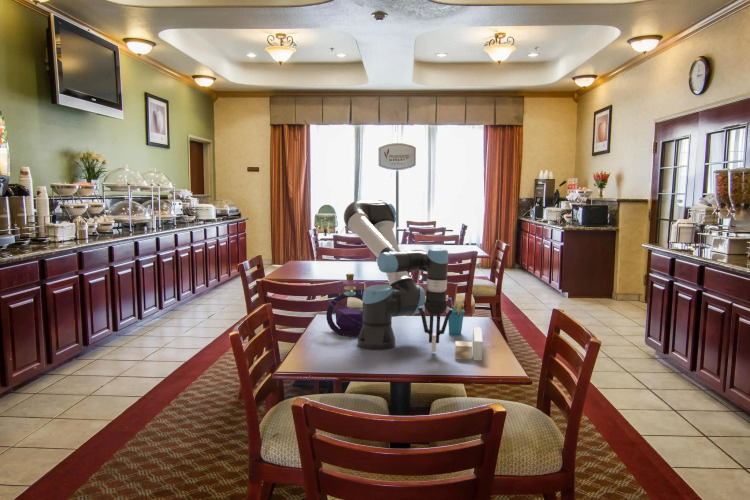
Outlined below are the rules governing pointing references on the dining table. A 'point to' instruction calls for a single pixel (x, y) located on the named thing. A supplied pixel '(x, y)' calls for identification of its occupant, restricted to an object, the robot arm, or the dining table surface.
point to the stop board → (477, 343)
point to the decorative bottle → (345, 312)
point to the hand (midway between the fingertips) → (433, 350)
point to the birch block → (463, 350)
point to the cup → (455, 319)
